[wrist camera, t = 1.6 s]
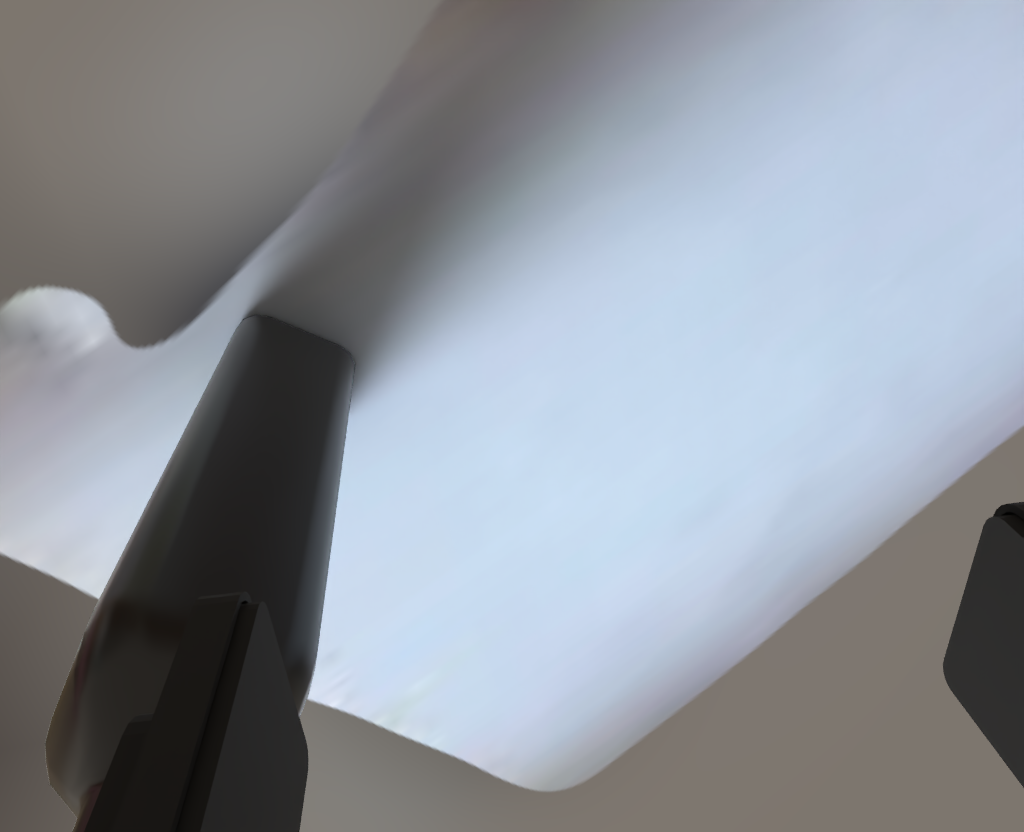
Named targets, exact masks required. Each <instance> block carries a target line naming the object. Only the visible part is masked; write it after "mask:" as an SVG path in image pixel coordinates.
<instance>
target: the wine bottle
mask: <svg viewBox="0 0 1024 832" xmlns="http://www.w3.org/2000/svg"><path fill="white" fill-rule="evenodd" d="M354 370H355V363H354V361H353V359H352V356H351V354H350V353H349V352H347V351H346V350H345V349H343V348H342V347H341V346H339V345H336V344H334V343H331V342H329V341H326V340H324V339H322V338H319V337H317V336H314V335H312V334H309V333H307V332H305V331H302V330H300V329H297V328H295V327H292V326H290V325H288V324H285V323H283V322H280V321H278V320H276V319H273V318H271V317H266V316H260V315H254V316H251V317H249V318H246V319H244V320H243V321H242V322H241V323H240V325H239V326H238V327H237V328H236V330H235V332H234V334H233V336H232V338H231V340H230V342H229V344H228V346H227V348H226V350H225V352H224V354H223V356H222V358H221V360H220V362H219V364H218V366H217V368H216V370H215V372H214V374H213V375H212V377H211V379H210V381H209V383H208V385H207V387H206V389H205V391H204V393H203V395H202V397H201V399H200V401H199V403H198V405H197V407H196V409H195V411H194V413H193V415H192V417H191V419H190V421H189V423H188V425H187V427H186V429H185V431H184V433H183V435H182V437H181V439H180V441H179V443H178V445H177V447H176V449H175V450H174V452H173V454H172V456H171V458H170V460H169V462H168V464H167V466H166V468H165V470H164V472H163V474H162V476H161V478H160V480H159V482H158V484H157V486H156V488H155V490H154V492H153V494H152V496H151V498H150V500H149V502H148V504H147V506H146V508H145V510H144V512H143V514H142V516H141V518H140V520H139V522H138V524H137V526H136V527H135V529H134V531H133V533H132V535H131V537H130V539H129V541H128V543H127V545H126V547H125V549H124V551H123V553H122V555H121V557H120V559H119V561H118V563H117V565H116V567H115V569H114V571H113V573H112V575H111V577H110V579H109V581H108V583H107V585H106V587H105V589H104V591H103V593H102V595H101V597H100V599H99V601H98V603H97V605H96V607H95V609H94V610H93V613H92V615H91V618H90V620H89V623H88V625H87V628H86V630H85V632H84V635H83V638H82V641H81V643H80V645H79V648H78V651H77V653H76V656H75V659H74V661H73V664H72V666H71V669H70V672H69V674H68V677H67V680H66V682H65V685H64V688H63V690H62V693H61V695H60V698H59V700H58V703H57V706H56V708H55V711H54V714H53V716H52V719H51V723H50V726H49V730H48V734H47V738H46V741H45V753H46V766H47V772H48V777H49V782H50V785H51V787H52V788H53V789H54V790H55V792H56V793H57V794H58V795H59V796H60V797H61V799H62V800H63V801H64V802H65V804H66V805H67V806H68V807H69V809H70V810H71V811H72V812H73V814H74V815H75V816H76V817H77V820H76V823H75V826H74V829H73V831H72V832H84V830H85V828H86V825H87V823H88V820H89V818H90V815H91V813H92V810H93V808H94V805H95V803H96V800H97V798H98V795H99V792H100V790H101V787H102V785H103V782H104V780H105V777H106V775H107V772H108V770H109V767H110V765H111V762H112V760H113V757H114V755H115V752H116V749H117V747H118V744H119V742H120V739H121V737H122V735H123V733H124V731H125V729H126V727H127V725H128V723H129V722H130V721H131V720H132V719H133V718H134V717H135V716H137V715H141V714H148V713H154V712H155V709H156V707H157V704H158V701H159V698H160V695H161V693H162V690H163V687H164V684H165V682H166V679H167V676H168V673H169V671H170V668H171V665H172V662H173V660H174V657H175V654H176V651H177V649H178V646H179V643H180V640H181V638H182V635H183V632H184V629H185V627H186V624H187V621H188V618H189V616H190V613H191V610H192V607H193V605H194V603H195V601H196V599H198V598H199V597H201V596H210V595H219V594H227V593H236V592H247V593H248V594H249V595H250V597H251V600H252V602H261V601H262V602H265V604H266V605H267V608H268V611H269V614H270V618H271V621H272V625H273V628H274V632H275V635H276V639H277V642H278V645H279V649H280V652H281V656H282V659H283V663H284V666H285V670H286V673H287V677H288V680H289V684H290V687H291V690H292V694H293V697H294V701H295V704H296V708H297V711H298V715H299V718H300V715H301V713H302V710H303V708H304V705H305V702H306V700H307V697H308V694H309V691H310V687H311V683H312V679H313V675H314V671H315V664H316V658H317V651H318V643H319V636H320V628H321V620H322V613H323V605H324V598H325V590H326V582H327V575H328V567H329V560H330V552H331V545H332V537H333V529H334V522H335V514H336V507H337V499H338V491H339V484H340V476H341V469H342V461H343V453H344V446H345V438H346V431H347V423H348V415H349V408H350V400H351V393H352V385H353V378H354Z"/></svg>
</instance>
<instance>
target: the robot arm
mask: <svg viewBox="0 0 1024 832" xmlns="http://www.w3.org/2000/svg"><path fill="white" fill-rule="evenodd" d="M943 670H944V675H945V679H946V681H947V684H948V686H949V688H950V689H951V691H952V692H953V694H954V695H955V696H956V697H957V699H958V700H959V702H960V703H961V704H962V706H963V707H964V708H965V709H966V711H967V712H968V713H969V715H970V716H971V717H972V719H973V720H974V722H975V723H976V724H977V726H978V727H979V728H980V730H981V731H982V732H983V734H984V735H985V736H986V738H987V739H988V740H989V742H990V743H991V744H992V746H993V747H994V748H995V750H996V751H997V752H998V754H999V755H1000V757H1001V758H1002V759H1003V761H1004V762H1005V763H1006V765H1007V766H1008V767H1009V768H1010V770H1011V771H1012V772H1013V774H1014V775H1015V777H1016V778H1017V779H1018V781H1019V782H1020V783H1021V785H1022V786H1023V787H1024V502H1019V503H1011V504H1005V505H1001V506H1000V507H999V508H998V509H997V510H996V512H995V514H994V516H993V517H991V518H989V519H988V520H987V521H986V522H985V524H984V526H983V530H982V533H981V536H980V540H979V543H978V546H977V550H976V553H975V556H974V560H973V563H972V567H971V570H970V574H969V577H968V581H967V583H966V587H965V590H964V594H963V597H962V600H961V604H960V607H959V610H958V614H957V617H956V621H955V624H954V627H953V631H952V634H951V637H950V641H949V644H948V648H947V651H946V654H945V658H944V662H943ZM307 773H308V749H307V743H306V739H305V735H304V732H303V729H302V725H301V722H300V718H299V715H298V711H297V708H296V704H295V701H294V697H293V694H292V690H291V687H290V684H289V680H288V677H287V673H286V670H285V666H284V663H283V659H282V656H281V652H280V649H279V645H278V642H277V639H276V635H275V632H274V628H273V625H272V621H271V618H270V614H269V611H268V608H267V605H266V604H265V602H262V601H261V602H252V600H251V597H250V595H249V594H248V593H247V592H236V593H227V594H219V595H210V596H201V597H199V598H198V599H196V601H195V603H194V605H193V607H192V610H191V613H190V616H189V618H188V621H187V624H186V627H185V629H184V632H183V635H182V638H181V640H180V643H179V646H178V649H177V651H176V654H175V657H174V660H173V662H172V665H171V668H170V671H169V673H168V676H167V679H166V682H165V684H164V687H163V690H162V693H161V695H160V698H159V701H158V704H157V707H156V709H155V712H154V713H148V714H141V715H137V716H135V717H134V718H133V719H132V720H131V721H130V722H129V723H128V725H127V727H126V729H125V731H124V733H123V735H122V737H121V739H120V742H119V744H118V747H117V749H116V752H115V755H114V757H113V760H112V762H111V765H110V767H109V770H108V772H107V775H106V777H105V780H104V782H103V785H102V787H101V790H100V792H99V795H98V798H97V800H96V803H95V805H94V808H93V810H92V813H91V815H90V818H89V820H88V823H87V825H86V828H85V830H84V832H299V830H300V823H301V816H302V808H303V802H304V794H305V788H306V781H307Z"/></svg>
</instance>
